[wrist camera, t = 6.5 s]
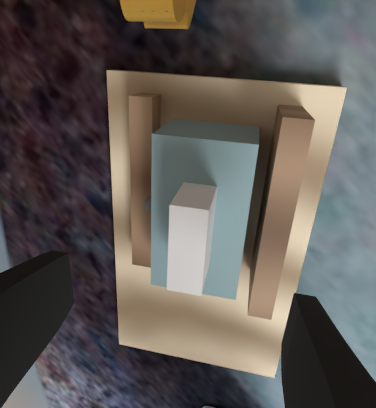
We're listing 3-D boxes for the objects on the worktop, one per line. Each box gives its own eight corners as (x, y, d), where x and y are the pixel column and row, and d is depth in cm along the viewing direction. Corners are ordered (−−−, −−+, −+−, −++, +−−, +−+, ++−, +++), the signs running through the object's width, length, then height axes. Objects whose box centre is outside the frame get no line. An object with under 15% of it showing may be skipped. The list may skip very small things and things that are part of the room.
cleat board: (273, 366, 24) (276, 435, 20) (124, 334, 26) (95, 390, 22) (342, 86, 16) (374, 96, 11) (114, 69, 18) (65, 72, 13)
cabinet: (240, 256, 20) (231, 338, 14) (157, 243, 21) (117, 315, 15) (259, 126, 16) (258, 162, 11) (160, 117, 17) (109, 145, 11)
